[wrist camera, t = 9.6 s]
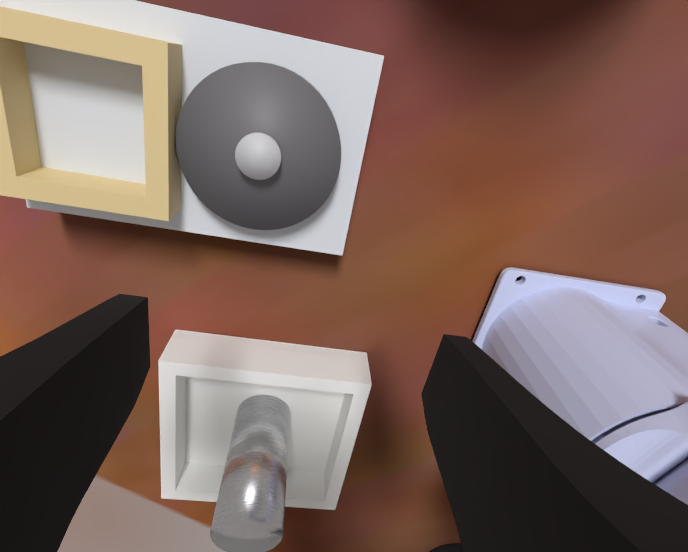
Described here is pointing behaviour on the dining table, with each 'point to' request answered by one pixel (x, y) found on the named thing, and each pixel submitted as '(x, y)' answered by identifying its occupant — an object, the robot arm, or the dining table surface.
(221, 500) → the lock pin
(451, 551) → the drinking cup
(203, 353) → the tray
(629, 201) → the dining table surface
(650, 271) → the dining table surface
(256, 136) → the white flat block
